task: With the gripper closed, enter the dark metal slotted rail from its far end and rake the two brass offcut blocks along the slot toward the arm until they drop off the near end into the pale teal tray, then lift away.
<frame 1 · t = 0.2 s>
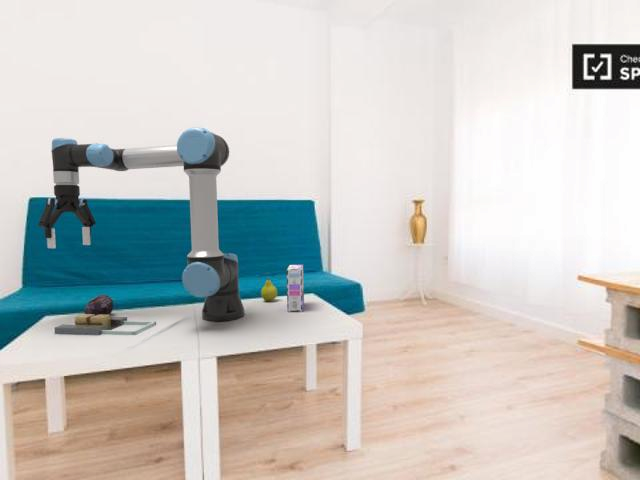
hand: (70, 246, 143), 27 cm above the table, fingers open, 13 cm apart
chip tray: (129, 333, 131), on the table
brass block 1: (85, 327, 133), point 1 cm above the table, touching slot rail
fruit: (269, 301, 176), on the table
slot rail: (92, 332, 133), on the table
brass block 2: (101, 328, 133), point 1 cm above the table, touching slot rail
candy box: (296, 308, 163), on the table
rock: (100, 320, 149), on the table
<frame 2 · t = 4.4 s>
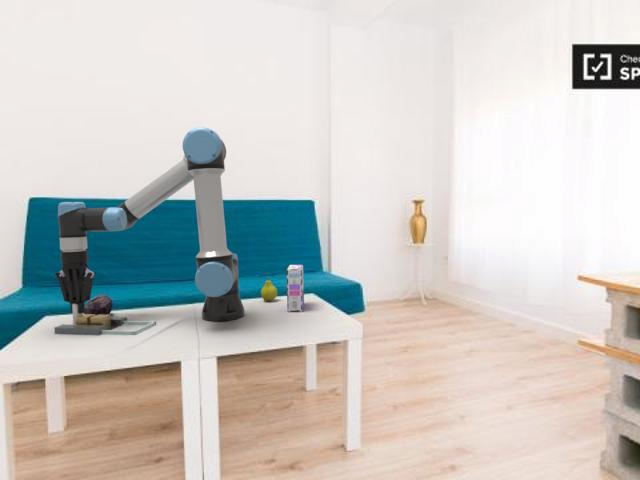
hand: (78, 323, 134), 3 cm above the table, fingers closed
brass block 1: (86, 327, 133), point 2 cm above the table, touching gripper, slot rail
everything else where it was.
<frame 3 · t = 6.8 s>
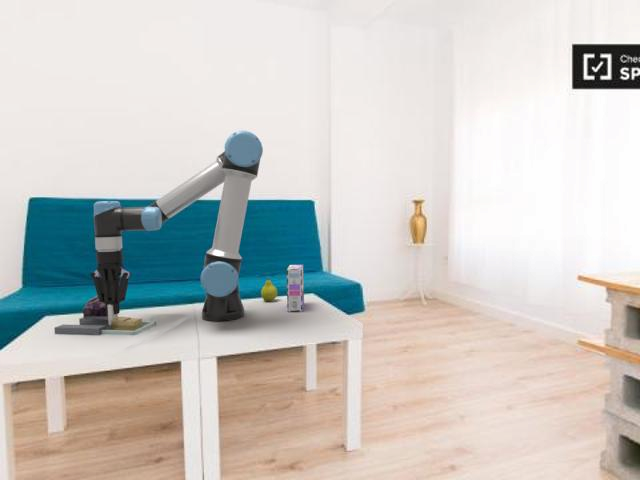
hand: (113, 323, 132), 3 cm above the table, fingers closed
brass block 1: (121, 331, 132), point 1 cm above the table, touching gripper
brass block 2: (132, 332, 131), resting on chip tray
everything else where it was.
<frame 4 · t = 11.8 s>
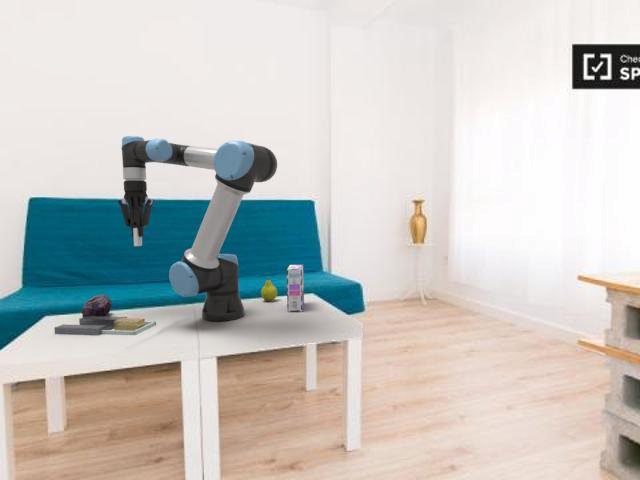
hand: (138, 245, 150), 26 cm above the table, fingers closed
brass block 1: (124, 332, 131), resting on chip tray
at the end: brass block 1 inside the target area (2.7 cm from its centre), point 0.5 cm above the table; brass block 2 inside the target area (1.4 cm from its centre), point 0.5 cm above the table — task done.
